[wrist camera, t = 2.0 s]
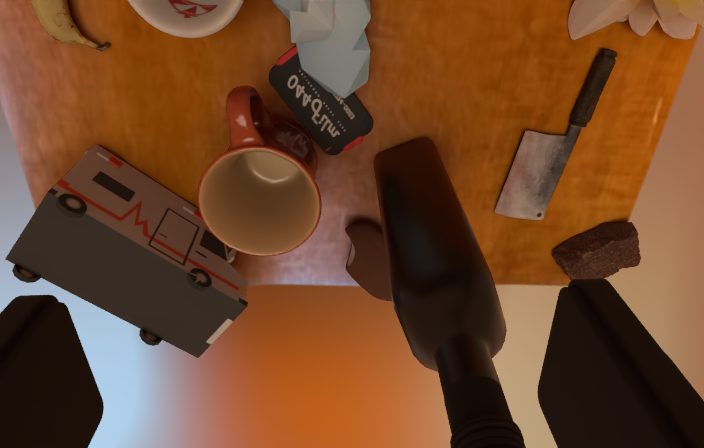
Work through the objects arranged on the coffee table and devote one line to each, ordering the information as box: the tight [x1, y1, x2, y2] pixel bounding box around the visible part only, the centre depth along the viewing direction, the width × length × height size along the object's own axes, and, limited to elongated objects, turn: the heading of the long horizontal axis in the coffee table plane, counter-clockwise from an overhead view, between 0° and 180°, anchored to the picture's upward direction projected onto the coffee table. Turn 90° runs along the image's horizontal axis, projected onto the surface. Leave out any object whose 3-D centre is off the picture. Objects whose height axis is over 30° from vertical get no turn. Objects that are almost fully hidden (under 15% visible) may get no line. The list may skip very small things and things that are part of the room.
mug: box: [198, 85, 321, 256], centre depth 40 cm, size 12×9×10 cm
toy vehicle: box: [6, 144, 248, 358], centre depth 44 cm, size 10×17×10 cm, turn 49°
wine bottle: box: [374, 138, 526, 448], centre depth 33 cm, size 6×6×30 cm
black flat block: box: [269, 46, 373, 155], centre depth 42 cm, size 9×1×5 cm
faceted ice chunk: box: [271, 0, 371, 98], centre depth 37 cm, size 13×7×5 cm, turn 14°
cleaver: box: [494, 49, 617, 220], centre depth 44 cm, size 16×1×5 cm
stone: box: [553, 222, 641, 280], centre depth 49 cm, size 8×3×5 cm
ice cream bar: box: [345, 222, 392, 301], centre depth 50 cm, size 3×5×15 cm
